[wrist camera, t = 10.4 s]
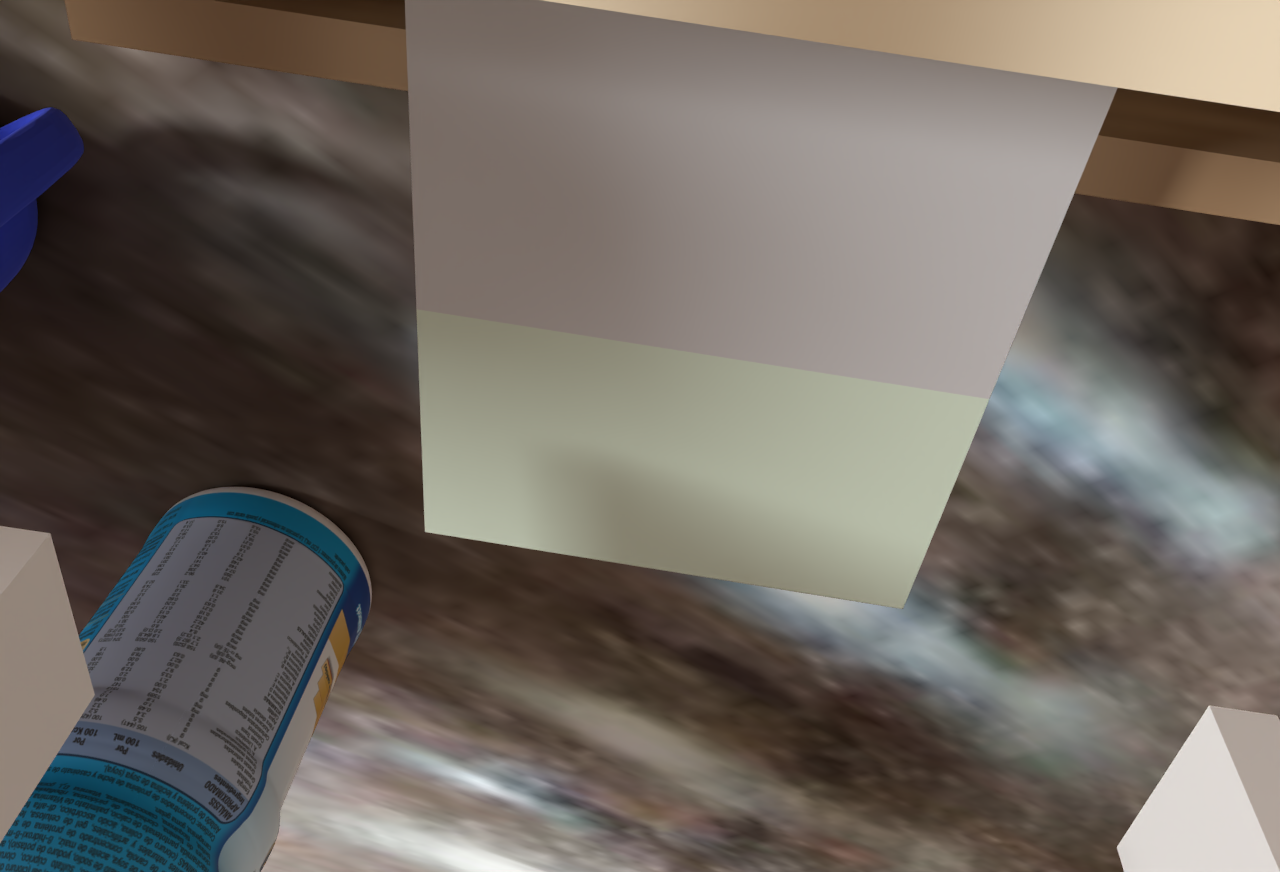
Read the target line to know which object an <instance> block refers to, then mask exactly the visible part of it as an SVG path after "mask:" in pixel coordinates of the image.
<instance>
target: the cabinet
mask: <svg viewBox="0 0 1280 872" xmlns="http://www.w3.org/2000/svg"><path fill="white" fill-rule="evenodd" d="M405 19H406V46H407V72H408V98H409V125H410V151H411V178H412V204H413V231H414V257H415V284H416V310H417V336H418V363H419V389H420V416H421V442H422V469H423V495H424V522H425V532H429V533H435V534H441V535H447V536H453V537H460V538H466V539H472V540H478V541H484V542H491V543H497V544H503V545H509V546H515V547H522V548H528V549H534V550H540V551H546V552H552V553H559V554H565V555H571V556H577V557H583V558H590V559H596V560H602V561H608V562H614V563H621V564H627V565H633V566H639V567H645V568H652V569H658V570H664V571H670V572H676V573H683V574H689V575H695V576H701V577H707V578H714V579H720V580H726V581H732V582H738V583H745V584H751V585H757V586H763V587H769V588H776V589H782V590H788V591H794V592H800V593H807V594H813V595H819V596H825V597H831V598H838V599H844V600H850V601H856V602H862V603H869V604H875V605H881V606H887V607H893V608H900V609H903V607H904V605H905V602H906V600H907V598H908V595H909V593H910V590H911V588H912V585H913V583H914V581H915V578H916V576H917V573H918V571H919V568H920V566H921V564H922V561H923V559H924V556H925V554H926V551H927V549H928V547H929V544H930V542H931V539H932V537H933V534H934V532H935V530H936V527H937V525H938V522H939V520H940V518H941V515H942V513H943V510H944V508H945V505H946V503H947V501H948V498H949V496H950V493H951V491H952V488H953V486H954V484H955V481H956V479H957V476H958V474H959V471H960V469H961V467H962V464H963V462H964V459H965V457H966V454H967V452H968V450H969V447H970V445H971V442H972V440H973V437H974V435H975V433H976V430H977V428H978V425H979V423H980V421H981V418H982V416H983V413H984V411H985V408H986V406H987V404H988V401H989V399H990V396H991V394H992V391H993V389H994V387H995V384H996V382H997V379H998V377H999V374H1000V372H1001V370H1002V367H1003V365H1004V362H1005V360H1006V357H1007V355H1008V353H1009V350H1010V348H1011V345H1012V343H1013V340H1014V338H1015V336H1016V333H1017V331H1018V328H1019V326H1020V323H1021V321H1022V319H1023V316H1024V314H1025V311H1026V309H1027V307H1028V304H1029V302H1030V299H1031V297H1032V294H1033V292H1034V290H1035V287H1036V285H1037V282H1038V280H1039V277H1040V275H1041V273H1042V270H1043V268H1044V265H1045V263H1046V260H1047V258H1048V256H1049V253H1050V251H1051V248H1052V246H1053V243H1054V241H1055V239H1056V236H1057V234H1058V231H1059V229H1060V226H1061V224H1062V222H1063V219H1064V217H1065V214H1066V212H1067V209H1068V207H1069V205H1070V202H1071V200H1072V197H1073V195H1074V193H1075V190H1076V188H1077V185H1078V183H1079V180H1080V178H1081V176H1082V173H1083V171H1084V168H1085V166H1086V163H1087V161H1088V159H1089V156H1090V154H1091V151H1092V149H1093V146H1094V144H1095V142H1096V139H1097V137H1098V134H1099V132H1100V129H1101V127H1102V125H1103V122H1104V120H1105V117H1106V115H1107V112H1108V110H1109V108H1110V105H1111V103H1112V100H1113V98H1114V95H1115V93H1116V91H1117V88H1118V87H1111V86H1104V85H1098V84H1091V83H1085V82H1078V81H1071V80H1065V79H1058V78H1052V77H1045V76H1038V75H1032V74H1025V73H1018V72H1012V71H1005V70H999V69H992V68H985V67H979V66H972V65H966V64H959V63H952V62H946V61H939V60H933V59H926V58H919V57H913V56H906V55H900V54H893V53H886V52H880V51H873V50H867V49H860V48H853V47H847V46H840V45H834V44H827V43H820V42H814V41H807V40H800V39H794V38H787V37H781V36H774V35H767V34H761V33H754V32H748V31H741V30H734V29H728V28H721V27H715V26H708V25H701V24H695V23H688V22H682V21H675V20H668V19H662V18H655V17H649V16H642V15H635V14H629V13H622V12H616V11H609V10H602V9H596V8H589V7H583V6H576V5H569V4H563V3H556V2H549V1H543V0H405Z"/></svg>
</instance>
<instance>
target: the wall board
mask: <svg viewBox="0 0 1280 872" xmlns="http://www.w3.org/2000/svg"><path fill="white" fill-rule="evenodd" d="M543 1H549V2H556V3H563V4H569V5H576V6H583V7H589V8H596V9H602V10H609V11H616V12H622V13H629V14H635V15H642V16H649V17H655V18H662V19H668V20H675V21H682V22H688V23H695V24H701V25H708V26H715V27H721V28H728V29H734V30H741V31H748V32H754V33H761V34H767V35H774V36H781V37H787V38H794V39H800V40H807V41H814V42H820V43H827V44H834V45H840V46H847V47H853V48H860V49H867V50H873V51H880V52H886V53H893V54H900V55H906V56H913V57H919V58H926V59H933V60H939V61H946V62H952V63H959V64H966V65H972V66H979V67H985V68H992V69H999V70H1005V71H1012V72H1018V73H1025V74H1032V75H1038V76H1045V77H1052V78H1058V79H1065V80H1071V81H1078V82H1085V83H1091V84H1098V85H1104V86H1111V87H1118V88H1117V91H1116V93H1115V95H1114V98H1113V100H1112V103H1111V105H1110V108H1109V110H1108V112H1107V115H1106V117H1105V120H1104V122H1103V125H1102V127H1101V129H1100V132H1099V134H1098V137H1097V139H1096V142H1095V144H1094V146H1093V149H1092V151H1091V154H1090V156H1089V159H1088V161H1087V163H1086V166H1085V168H1084V171H1083V173H1082V176H1081V178H1080V180H1079V183H1078V185H1077V188H1076V190H1075V194H1082V195H1088V196H1095V197H1101V198H1108V199H1114V200H1121V201H1127V202H1134V203H1140V204H1147V205H1153V206H1160V207H1166V208H1173V209H1179V210H1186V211H1192V212H1199V213H1205V214H1212V215H1218V216H1225V217H1232V218H1238V219H1245V220H1251V221H1258V222H1264V223H1271V224H1277V225H1280V0H543ZM65 5H66V10H67V16H68V21H69V26H70V31H71V37H72V40H78V41H85V42H92V43H98V44H105V45H111V46H118V47H124V48H131V49H137V50H144V51H150V52H157V53H163V54H170V55H176V56H183V57H189V58H196V59H202V60H209V61H215V62H222V63H228V64H235V65H241V66H248V67H254V68H261V69H267V70H274V71H280V72H287V73H293V74H300V75H306V76H313V77H320V78H326V79H333V80H339V81H346V82H352V83H359V84H365V85H372V86H378V87H385V88H391V89H398V90H404V91H408V72H407V46H406V19H405V0H65Z"/></svg>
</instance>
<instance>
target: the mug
mask: <svg viewBox="0 0 1280 872" xmlns="http://www.w3.org/2000/svg"><path fill="white" fill-rule="evenodd" d="M83 152H84V145H83V140H82V139H81V137H80V135H79V133H78V131H77V129H76V128H75V126H74V125H73V124H72V122H71V121H70V120H69V118H68V117H67V116H66V115H65V114H64V113H63V112H62V111H60V110H59V109H56V108H53V107H50V108H44V109H41V110H38V111H36V112H33V113H31V114H29V115H26V116H24V117H22V118H20V119H18V120H16V121H13V122H11V123H9V124H7V125H5V126H3V127H1V128H0V292H1V291H2V290H3V289H4V288H5V287H6V286H7V285H8V284H9V283H10V282H11V281H12V279H13V278H14V277H15V276H16V275H17V274H18V272H19V271H20V270H21V268H22V266H23V265H24V263H25V262H26V260H27V258H28V256H29V254H30V251H31V249H32V247H33V243H34V240H35V236H36V232H37V224H38V210H37V201H36V198H37V197H39V196H40V195H41V194H42V193H44V192H45V191H46V190H47V189H48V188H49V187H50V186H52V185H53V184H54V183H55V182H56V181H57V180H58V179H59V178H61V177H62V176H63V175H64V174H65V173H66V172H67V171H69V170H70V169H71V168H72V167H73V166H74V165H75V164H76V163H77V161H78V160H79V159H80V157H81V156H82V154H83Z"/></svg>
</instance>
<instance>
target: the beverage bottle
mask: <svg viewBox="0 0 1280 872" xmlns="http://www.w3.org/2000/svg"><path fill="white" fill-rule="evenodd" d="M371 601H372V587H371V581H370V576H369V573H368V570H367V567H366V565H365V562H364V560H363V558H362V556H361V555H360V553H359V551H358V550H357V548H356V547H355V545H354V544H353V543H352V541H351V540H350V539H349V538H348V537H347V536H346V535H345V533H344V532H343V531H342V530H341V529H339V528H338V527H337V526H336V525H335V524H334V523H333V522H331V521H330V520H329V519H328V518H326V517H325V516H323V515H322V514H321V513H319V512H318V511H316V510H314V509H313V508H311V507H309V506H307V505H305V504H303V503H301V502H299V501H297V500H295V499H292V498H290V497H287V496H285V495H282V494H279V493H275V492H272V491H268V490H263V489H258V488H251V487H219V488H213V489H208V490H204V491H201V492H198V493H195V494H193V495H190V496H188V497H186V498H184V499H183V500H181V501H179V502H178V503H177V504H175V505H174V506H173V507H172V508H170V509H169V510H168V511H167V512H166V513H165V515H164V516H163V517H162V518H161V520H160V521H159V522H158V524H157V525H156V526H155V528H154V529H153V531H152V532H151V534H150V535H149V537H148V539H147V540H146V542H145V544H144V546H143V548H142V550H141V551H140V552H139V554H138V555H137V557H136V558H135V560H134V561H133V562H132V564H131V565H130V566H129V568H128V569H127V571H126V572H125V573H124V575H123V576H122V578H121V579H120V580H119V582H118V583H117V584H116V586H115V587H114V588H113V590H112V591H111V593H110V594H109V595H108V597H107V598H106V599H105V601H104V602H103V603H102V605H101V606H100V608H99V609H98V610H97V612H96V613H95V614H94V616H93V617H92V618H91V620H90V621H89V623H88V624H87V625H86V627H85V628H84V629H83V631H82V632H81V633H80V635H79V639H80V643H81V646H82V650H83V654H84V657H85V661H86V664H87V668H88V672H89V675H90V679H91V683H92V686H93V690H94V693H95V695H94V697H93V699H92V700H91V702H90V703H89V705H88V706H87V708H86V710H85V711H84V713H83V714H82V716H81V717H80V719H79V721H78V722H77V724H76V725H75V727H74V728H73V730H72V731H71V733H70V735H69V736H68V738H67V739H66V741H65V742H64V744H63V746H62V747H61V749H60V750H59V752H58V753H57V755H56V757H55V758H54V760H53V761H52V763H51V764H50V766H49V767H48V769H47V771H46V772H45V774H44V775H43V777H42V778H41V780H40V782H39V783H38V785H37V786H36V788H35V789H34V791H33V793H32V794H31V796H30V797H29V799H28V800H27V802H26V804H25V805H24V807H23V808H22V810H21V811H20V813H19V814H18V816H17V818H16V819H15V821H14V822H13V824H12V825H11V827H10V829H9V830H8V832H7V833H6V835H5V836H4V838H3V840H2V841H1V843H0V872H261V870H262V868H263V867H264V865H265V863H266V861H267V859H268V857H269V855H270V853H271V851H272V849H273V847H274V844H275V841H276V839H277V835H278V832H279V826H280V810H281V807H282V805H283V803H284V800H285V798H286V795H287V793H288V791H289V788H290V786H291V784H292V781H293V779H294V777H295V774H296V772H297V770H298V767H299V765H300V763H301V760H302V758H303V756H304V753H305V751H306V749H307V746H308V744H309V742H310V739H311V737H312V735H313V732H314V730H315V728H316V725H317V723H318V721H319V718H320V716H321V714H322V711H323V709H324V707H325V705H326V702H327V700H328V698H329V695H330V693H331V691H332V688H333V686H334V684H335V682H336V679H337V677H338V675H339V673H340V670H341V668H342V666H343V664H344V662H345V660H346V658H347V656H348V654H349V652H350V651H351V649H352V647H353V646H354V644H355V643H356V641H357V639H358V637H359V635H360V633H361V631H362V629H363V627H364V624H365V622H366V620H367V617H368V615H369V611H370V607H371Z"/></svg>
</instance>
